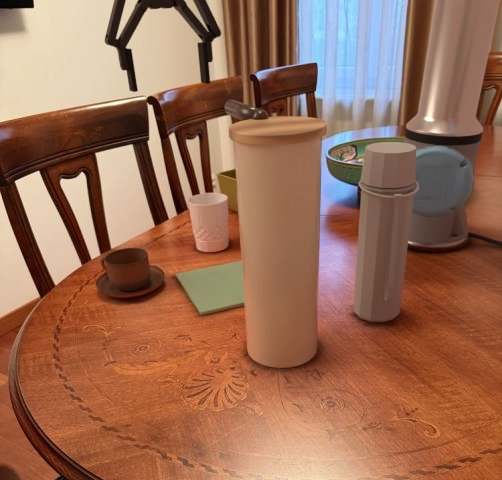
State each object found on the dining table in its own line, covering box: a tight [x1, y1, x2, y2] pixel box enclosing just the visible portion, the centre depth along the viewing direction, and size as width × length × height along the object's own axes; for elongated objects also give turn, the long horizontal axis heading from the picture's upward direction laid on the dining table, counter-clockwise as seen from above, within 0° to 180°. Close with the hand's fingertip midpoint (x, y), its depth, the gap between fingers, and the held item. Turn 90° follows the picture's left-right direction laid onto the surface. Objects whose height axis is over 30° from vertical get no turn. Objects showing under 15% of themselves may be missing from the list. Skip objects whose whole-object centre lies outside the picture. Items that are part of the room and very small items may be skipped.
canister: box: [233, 137, 323, 369], centre depth 66 cm, size 10×10×29 cm
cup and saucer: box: [95, 247, 165, 299], centre depth 91 cm, size 12×12×6 cm
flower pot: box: [216, 167, 238, 213], centre depth 123 cm, size 9×9×9 cm
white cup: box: [187, 192, 230, 253], centre depth 105 cm, size 8×8×10 cm
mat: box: [174, 260, 244, 316], centre depth 92 cm, size 16×16×1 cm
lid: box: [224, 99, 328, 145], centre depth 62 cm, size 22×11×2 cm, turn 22°
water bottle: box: [353, 141, 419, 323], centre depth 73 cm, size 9×8×25 cm
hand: (170, 87), depth 94 cm, fingers open, 13 cm apart
